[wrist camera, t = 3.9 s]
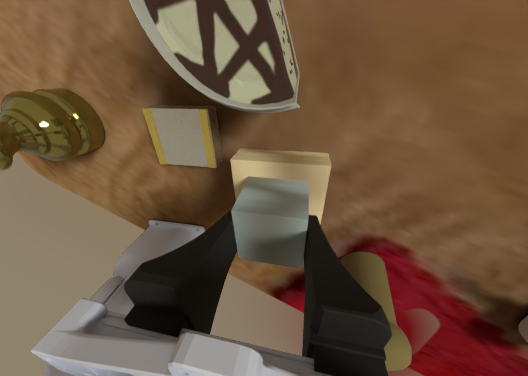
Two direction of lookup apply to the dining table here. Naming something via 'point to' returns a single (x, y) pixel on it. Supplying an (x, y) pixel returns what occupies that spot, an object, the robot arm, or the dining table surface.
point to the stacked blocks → (276, 202)
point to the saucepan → (524, 328)
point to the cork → (376, 285)
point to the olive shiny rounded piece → (47, 125)
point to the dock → (185, 134)
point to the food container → (227, 49)
